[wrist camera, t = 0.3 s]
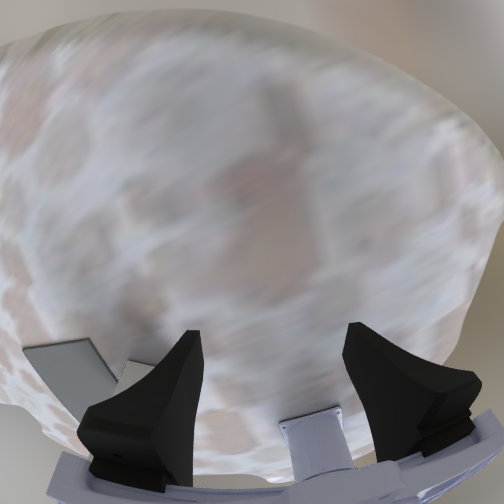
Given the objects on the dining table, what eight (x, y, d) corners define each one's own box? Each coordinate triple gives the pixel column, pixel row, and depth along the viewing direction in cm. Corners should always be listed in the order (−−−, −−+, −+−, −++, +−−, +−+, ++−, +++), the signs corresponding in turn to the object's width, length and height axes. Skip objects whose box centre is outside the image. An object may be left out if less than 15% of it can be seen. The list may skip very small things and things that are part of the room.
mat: (156, 428, 29) (156, 430, 29) (85, 426, 30) (84, 427, 29) (89, 338, 24) (87, 340, 23) (23, 348, 24) (21, 350, 24)
